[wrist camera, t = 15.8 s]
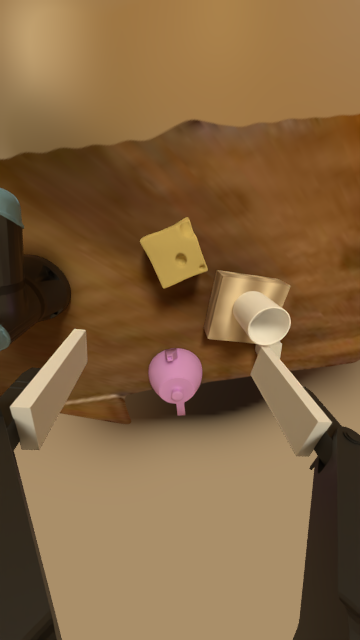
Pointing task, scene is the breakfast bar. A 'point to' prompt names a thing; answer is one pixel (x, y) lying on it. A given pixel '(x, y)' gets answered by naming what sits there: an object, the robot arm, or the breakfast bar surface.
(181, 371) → the teapot
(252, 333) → the mug
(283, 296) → the oak block
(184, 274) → the cheese
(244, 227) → the breakfast bar surface
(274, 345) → the beige block
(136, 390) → the breakfast bar surface
